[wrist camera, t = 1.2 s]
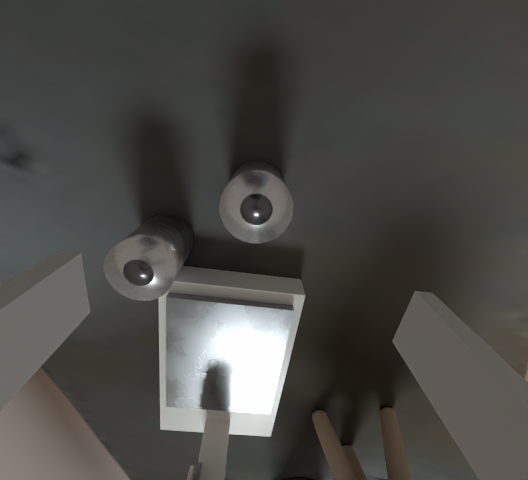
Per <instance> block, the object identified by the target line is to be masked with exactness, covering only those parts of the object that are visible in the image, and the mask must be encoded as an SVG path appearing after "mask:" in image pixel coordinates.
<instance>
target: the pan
mask: <svg viewBox="0 0 528 480" xmlns="http://www.w3.org/2000/svg"><path fill="white" fill-rule="evenodd" d="M293 314H294V307H293V305H284V304H275V303H265V302H256V301H246V300H237V299H227V298H218V297H208V296H199V295H189V294H180V293H170V292H169V293H168V294H167V296H166V407H175V408H190V409H204V410H218V411H232V412H246V413H260V414H270V413H271V409H272V404H273V400H274V396H275V392H276V387H277V383H278V379H279V374H280V370H281V366H282V362H283V357H284V353H285V349H286V344H287V340H288V336H289V331H290V327H291V323H292V319H293Z"/></svg>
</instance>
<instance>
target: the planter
mask: <svg viewBox="0 0 528 480" xmlns="http://www.w3.org/2000/svg"><path fill="white" fill-rule="evenodd" d="M380 419H381V427H382V436H383V445H384V452H385V459H386V466H387V473H388V479H379V480H412V478H411V475H410V471H409V467H408V463H407V459H406V455H405V451H404V446H403V442H402V437H401V433H400V429H399V424H398V420H397V417H396V413H395V411H394V410H393V409H392V408H389V407H385V408H383V409H382V410H381V411H380ZM312 420H313V423H314V426H315V429H316V432H317V435H318V437H319V440H320V443H321V445H322V448H323V451H324V453H325V456H326V459H327V462H328V465H329V468H330V470H331V473H332V476H333V479H334V480H367V478H366V476H365V474H364V471H363V469H362V467H361V465H360V462H359V460H358V458H357V456H356V453H355V451H354V449H353V448H352V447H351V446H350V445H344V446H341V444H340V441H339V439H338V437H337V435H336V433H335V431H334V429H333V427H332V425H331V423H330V421H329V419H328V417H327V414H326V413H325V412H324V411H322V410H316V411H314V412H313V414H312Z"/></svg>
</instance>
